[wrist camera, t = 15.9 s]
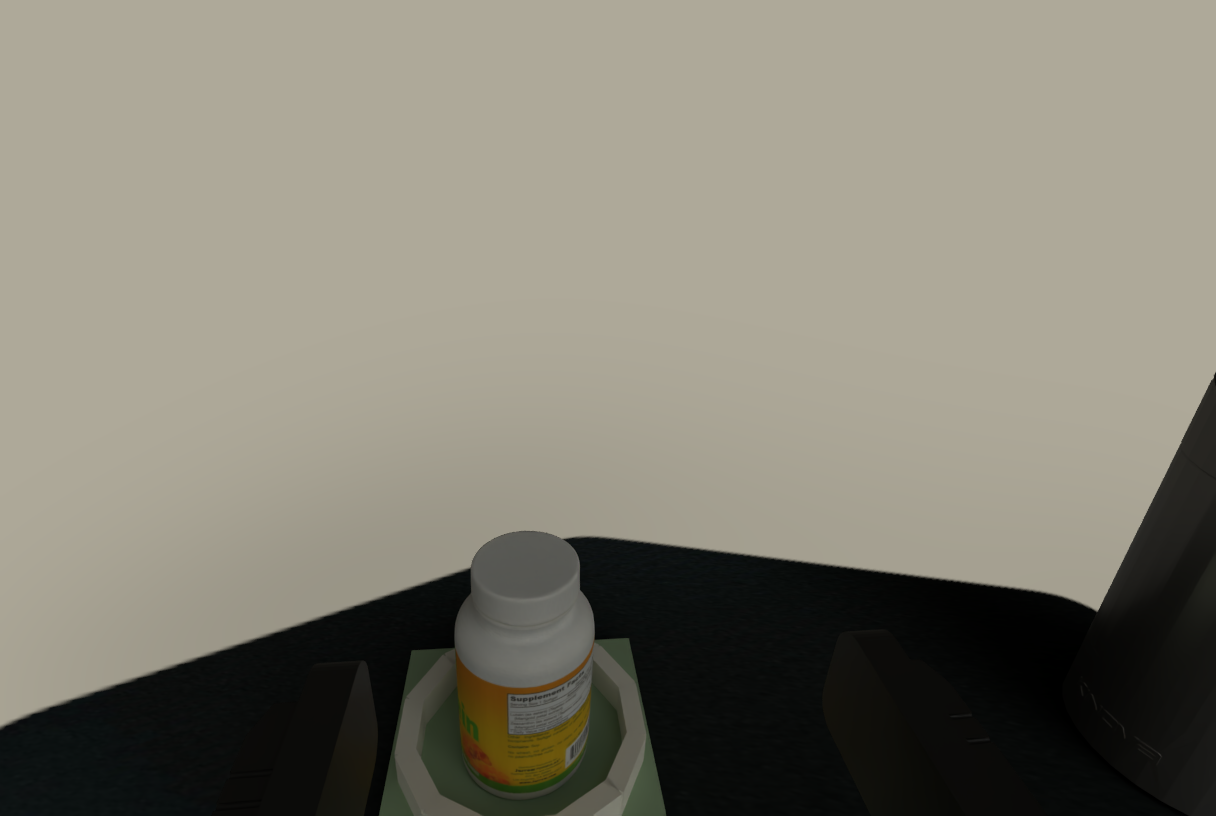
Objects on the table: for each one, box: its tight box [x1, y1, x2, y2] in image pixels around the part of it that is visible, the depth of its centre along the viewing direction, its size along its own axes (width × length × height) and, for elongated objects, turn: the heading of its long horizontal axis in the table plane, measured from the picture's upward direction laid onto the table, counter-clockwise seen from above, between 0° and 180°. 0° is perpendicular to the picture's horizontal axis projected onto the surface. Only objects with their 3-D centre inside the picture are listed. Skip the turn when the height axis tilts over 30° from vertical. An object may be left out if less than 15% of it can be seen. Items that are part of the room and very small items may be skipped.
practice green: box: [379, 638, 666, 816], centre depth 27 cm, size 11×11×2 cm
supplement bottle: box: [454, 531, 595, 800], centre depth 25 cm, size 5×5×10 cm
